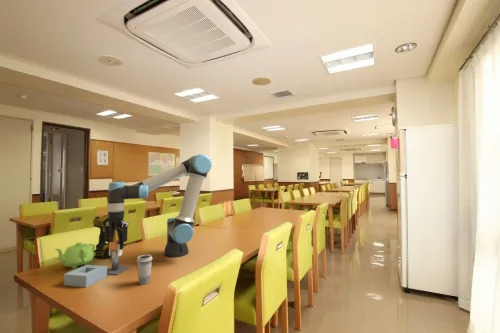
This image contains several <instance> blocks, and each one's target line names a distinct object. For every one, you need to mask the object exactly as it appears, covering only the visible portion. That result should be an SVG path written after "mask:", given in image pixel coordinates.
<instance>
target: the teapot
mask: <svg viewBox="0 0 500 333" xmlns="http://www.w3.org/2000/svg"><path fill="white" fill-rule="evenodd" d="M91 246H92V247H91ZM54 250H56V251H57V253H58V260H59V261H60V262H61V263H62V264H63V265H64V266H65V267H66V268H71V270H75V268H76V269H78V266H85V265H90V263H91V262H92V261H93V259H94V256H95V252H94V250H96V245H95V244H93V243H89V244H87V243H82V242H75V244H73V245H70V246H68V247H66V250H65V251H64V253H63V250H62V249H61V248H55V249H54ZM93 253H94V254H93Z"/></svg>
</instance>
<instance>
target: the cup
mask: <svg viewBox="0 0 500 333" xmlns="http://www.w3.org/2000/svg"><path fill="white" fill-rule="evenodd" d="M152 260H153V257H152V255H151V254H142V255H139V256H137V258H136V262H137V264H136V266H137V277H138V284H139V285H140V286H144V285H148V284H150V282H151V280H150V279H151V275H152V274H151V273H152V263H153V262H152Z"/></svg>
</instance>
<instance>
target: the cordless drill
mask: <svg viewBox="0 0 500 333" xmlns="http://www.w3.org/2000/svg"><path fill="white" fill-rule="evenodd" d="M108 221H109V219H108V215H107V216H104V215H100V216H96V217H95V218H94V219H93V223H92V224H93V225H94V226H95V227H96V228H99V229H100V230H99V235H98V243H97V244H96V245H95V249H94V251H93V252H95V256H93V258H95V259H106V260H107V259H112V255H111V256H109V249H108V242H105V240H104V231H105V227H104V223H106V222H108ZM93 254H94V253H93Z"/></svg>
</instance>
